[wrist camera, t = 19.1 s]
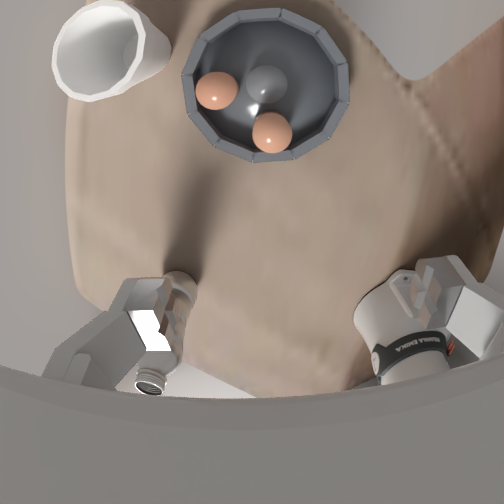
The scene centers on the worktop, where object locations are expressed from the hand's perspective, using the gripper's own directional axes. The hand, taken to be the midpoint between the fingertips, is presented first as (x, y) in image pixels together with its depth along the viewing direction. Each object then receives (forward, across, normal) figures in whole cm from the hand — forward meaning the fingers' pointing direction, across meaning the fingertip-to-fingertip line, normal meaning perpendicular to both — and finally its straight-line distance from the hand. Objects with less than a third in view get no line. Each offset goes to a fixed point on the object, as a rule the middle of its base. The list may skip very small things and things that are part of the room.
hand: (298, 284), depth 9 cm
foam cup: (+29, -14, +11) cm, 34 cm away
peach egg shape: (+28, -5, +5) cm, 29 cm away
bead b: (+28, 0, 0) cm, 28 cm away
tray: (+29, 0, +5) cm, 30 cm away
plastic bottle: (+29, -16, -23) cm, 41 cm away
